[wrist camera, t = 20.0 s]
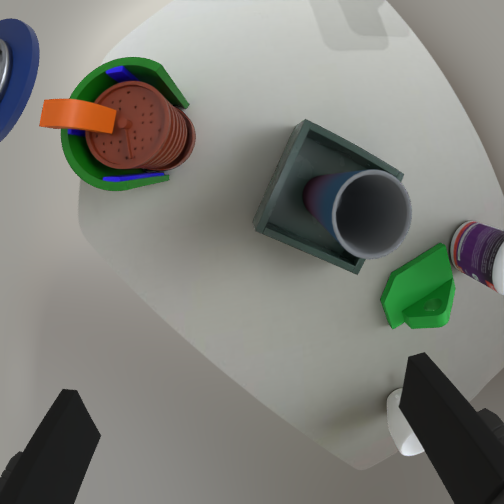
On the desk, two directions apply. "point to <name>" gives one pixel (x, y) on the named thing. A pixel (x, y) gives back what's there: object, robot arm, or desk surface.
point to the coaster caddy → (123, 125)
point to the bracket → (420, 291)
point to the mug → (401, 427)
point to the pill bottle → (480, 253)
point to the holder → (292, 185)
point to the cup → (361, 210)
